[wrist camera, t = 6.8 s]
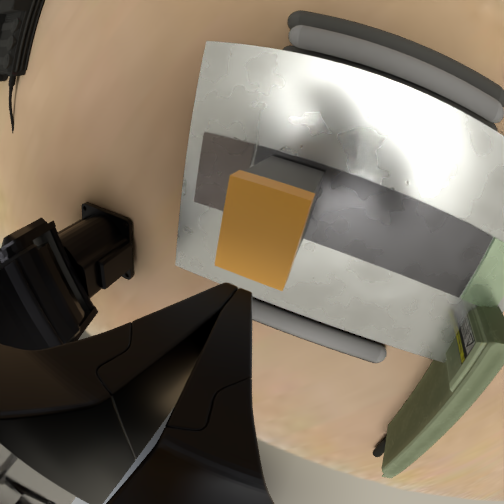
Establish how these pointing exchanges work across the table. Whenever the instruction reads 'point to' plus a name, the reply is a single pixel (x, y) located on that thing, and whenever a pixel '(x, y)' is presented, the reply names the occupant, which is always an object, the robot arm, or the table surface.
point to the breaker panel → (353, 193)
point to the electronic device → (16, 39)
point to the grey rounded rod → (317, 332)
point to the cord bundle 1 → (397, 62)
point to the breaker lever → (266, 219)
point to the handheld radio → (445, 390)
